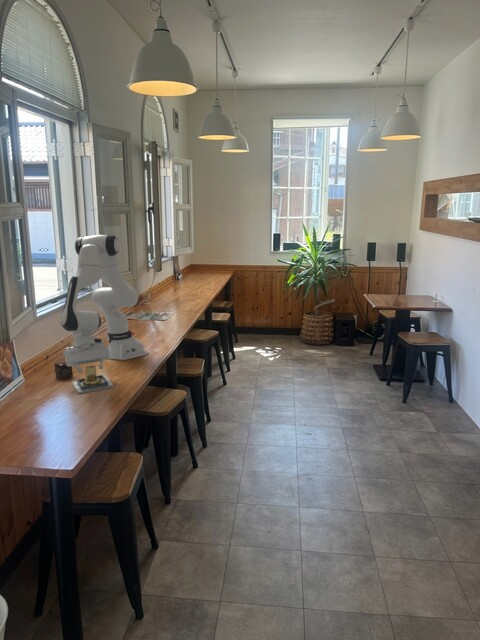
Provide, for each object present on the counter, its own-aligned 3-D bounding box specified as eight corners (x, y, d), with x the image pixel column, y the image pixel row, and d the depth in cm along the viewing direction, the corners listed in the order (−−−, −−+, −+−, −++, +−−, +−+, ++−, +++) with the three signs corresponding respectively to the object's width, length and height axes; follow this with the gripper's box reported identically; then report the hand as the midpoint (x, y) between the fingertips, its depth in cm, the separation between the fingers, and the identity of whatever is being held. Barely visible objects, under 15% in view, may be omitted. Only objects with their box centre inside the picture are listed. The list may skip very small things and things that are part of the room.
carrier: (105, 377, 237) (105, 372, 237) (113, 387, 224) (113, 382, 223) (72, 383, 230) (71, 379, 230) (78, 394, 216) (77, 389, 216)
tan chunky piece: (99, 379, 232) (98, 363, 230) (103, 384, 225) (102, 367, 223) (80, 382, 228) (79, 366, 226) (84, 387, 221) (82, 371, 219)
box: (66, 373, 244) (65, 360, 243) (73, 376, 241) (71, 362, 239) (55, 377, 240) (53, 363, 238) (62, 379, 236) (60, 365, 234)
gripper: (62, 345, 225) (68, 371, 219) (106, 338, 234) (113, 363, 228) (61, 352, 230) (67, 377, 224) (105, 345, 239) (111, 369, 233)
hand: (91, 370), depth 226 cm, fingers open, 8 cm apart
